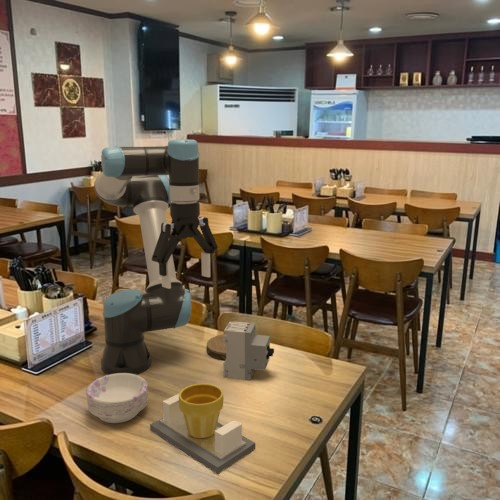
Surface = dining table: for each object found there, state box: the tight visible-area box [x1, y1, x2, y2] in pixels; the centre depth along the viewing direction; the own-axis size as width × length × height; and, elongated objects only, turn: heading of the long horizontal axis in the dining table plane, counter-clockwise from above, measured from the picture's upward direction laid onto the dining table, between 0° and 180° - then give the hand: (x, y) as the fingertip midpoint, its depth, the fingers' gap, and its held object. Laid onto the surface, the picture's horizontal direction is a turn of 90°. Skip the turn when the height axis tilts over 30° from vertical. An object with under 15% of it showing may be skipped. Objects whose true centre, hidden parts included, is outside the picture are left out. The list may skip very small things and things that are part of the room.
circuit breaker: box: [222, 321, 275, 381], centre depth 152 cm, size 8×14×15 cm, turn 78°
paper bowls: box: [86, 373, 149, 424], centre depth 132 cm, size 15×15×8 cm
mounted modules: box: [162, 393, 243, 455], centre depth 121 cm, size 21×6×5 cm, turn 47°
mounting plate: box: [149, 417, 256, 474], centre depth 122 cm, size 24×12×2 cm, turn 47°
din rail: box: [158, 416, 246, 461], centre depth 122 cm, size 22×8×1 cm, turn 47°
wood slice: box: [206, 333, 226, 362], centre depth 170 cm, size 16×16×3 cm
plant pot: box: [178, 383, 224, 438], centre depth 121 cm, size 10×10×10 cm
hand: (187, 281), depth 135 cm, fingers open, 13 cm apart
